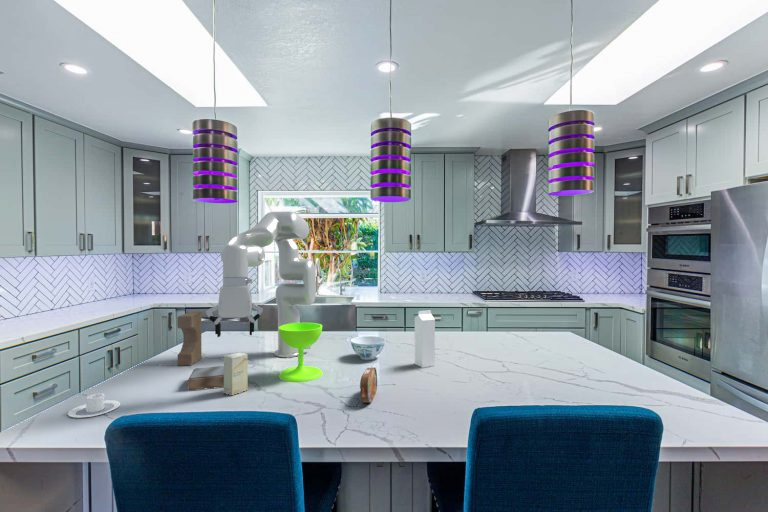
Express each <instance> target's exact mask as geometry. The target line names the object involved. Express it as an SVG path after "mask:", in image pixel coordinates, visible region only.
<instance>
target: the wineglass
mask: <svg viewBox="0 0 768 512" xmlns="http://www.w3.org/2000/svg"><path fill="white" fill-rule="evenodd" d="M322 331H323V325H322V324H321V323H316V322H300V323H291V324H285V325H282V326H280V327H279V334H280V336H281V338H282V340H283V341H284V342H285V343H286V344H287V345H289V346H290V347H293V348H297V349H298V356H297V358H298V360H297V364H298V365H297V366H292V367H289V368H285V369H284V370H282V371H281V372H280V373H279V375H278V379H279V378H280V380H281V379H282V380H281V381H283V380H284V382H287V381H290V382H289V383H304V381H305V382H310V381H309V380H311V381H314V379H315V380H317V379H319V378H321V377H322V376H323V371H322V370H321V368H319V367H316V366H310V365H307V366H306V365H304V349H303V348H307V347H309V346H310V347H312V345H314V344H315V343H316V342H317V341H318V340H319V339H320V338H321V335H322Z"/></svg>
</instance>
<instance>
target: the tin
mask: <svg viewBox="0 0 768 512" xmlns="http://www.w3.org/2000/svg"><path fill="white" fill-rule="evenodd" d="M377 372H378V371H377V369H376V367H367V368H366V369H365V370H364V371H363V374H362V375H361V378H360V382H359V390H360V401H361V402H362V403H363V404H364V403H365V404H367V403H369V404H371V403H372V402H373V400H374V398H375V396H376V394H377V389H378V373H377Z"/></svg>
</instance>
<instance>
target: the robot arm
mask: <svg viewBox="0 0 768 512" xmlns="http://www.w3.org/2000/svg"><path fill="white" fill-rule="evenodd" d="M309 226H310V225H309V223H308V222H307V221H306V220H305V219H304V218H303V217H302V216H301V215H299V214H298V213H296V212H294V211H270V212H267V213H266V214H265V215H264V216H263V217H262V218H261V219H260V220H259V221H258V223H256V225H255V227H252V228H250V229H247V230H245V231H243V232H241V233H238V234H237V235H235V236H233V237H232V238H230V239H229V240H228V241H227V243H225V245H224V246H223V248H222V250H221V253H220V259H221V262H222V286H220V288H219V295H218V304H217V305H214V306H212V307H210V308H209V309H207V310H206V311H205V314H206V316H207V317H208V320H210V321H211V322H212V323H213V324H214V326H215V327H214V328H215V329H214V333H215V335H217V338H220V337H221V334H222V333H221V330H222V329H221V327H222V325H221V321H222V320H223V319H241V318H246V319H248V320H249V336H252V335H253V333H254V332H255V322H256V321H258V320H259V318H260V317H261V315H262V313H263V311H264V308H263V307H260V306H259V305H257V304H254V303H252V300H253V299H252V290H251V286H248V285H249V284H253V279H252V278H249V277H248V276H249V275H248V273H249V270H248V269H249V267H252V268H255V267H259V266H261V265H262V264H263V263H264V262H265V259H266V253H265V250H264V249H263V248H264V247H267V246H270V245H271V244H272V243H273V242H275V243H276V245H277V249H278V272H279V273H278V274H279V277H280V279H282V280H284V281H302V282H303V283H292V282H291V283H289V282H286V283H282V284H280V285H278V286H277V287H276V289H275V299H276V306H277V349H276V350H275V351H274V356H276V357H278V358H294V357H298V349H297V348H293V347H290V346H289V345H287V344H286V343H285V342H284V341H283V340H282V338H281V336H280V334H279V327H280V326H282V325H285V324H291V323H301V321H300V320H301V317H300V316H301V315H300V311H299V309H298V308H297V306H310V305H313V304H314V303H315V300H316V295H317V294H316V282H317V281H316V280H317V279H316V266H315V262H313V260H311V259H309V258H307V259H305V258H299V257H300V256H299V247H298V244H297V243H296V242H295V240H296V241H297V240H305V239H307V238H308V236H309V233H310V227H309ZM253 310H256V311H257V313H256V314H255V315H254V316H253V315H252V312H253ZM215 311H217V315H218V317H217V318H216V317H215V316H214V315H213V312H215ZM310 349H311V346H309V347H307V348H303V350H310Z"/></svg>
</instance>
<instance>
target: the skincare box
mask: <svg viewBox="0 0 768 512" xmlns="http://www.w3.org/2000/svg"><path fill="white" fill-rule="evenodd" d="M248 357H249V356H248V353H244V352H235V353H231V354H228V355H224V356H223V366H224V387H223V394H224V393H226V394H225V395H228V394H229V395H228V396H231V395H233V396H235V395H234V394H236V395H238V394H237V393H239V394H241V393H240V392H242V393H244V392H243V391H245V392H246V390H247V391H248V390H249V389H248V388H249V387H248V378H249V377H248V370H249V369H248V367H249V366H248V360H249V359H248Z"/></svg>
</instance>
